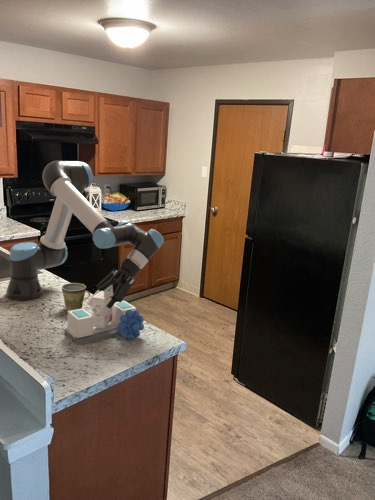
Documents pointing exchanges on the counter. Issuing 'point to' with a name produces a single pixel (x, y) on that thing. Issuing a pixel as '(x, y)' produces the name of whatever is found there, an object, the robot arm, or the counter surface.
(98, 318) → the ink cartridge box
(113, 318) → the rail board
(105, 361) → the counter surface
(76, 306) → the ceramic cup
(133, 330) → the blue thick lobed disc
